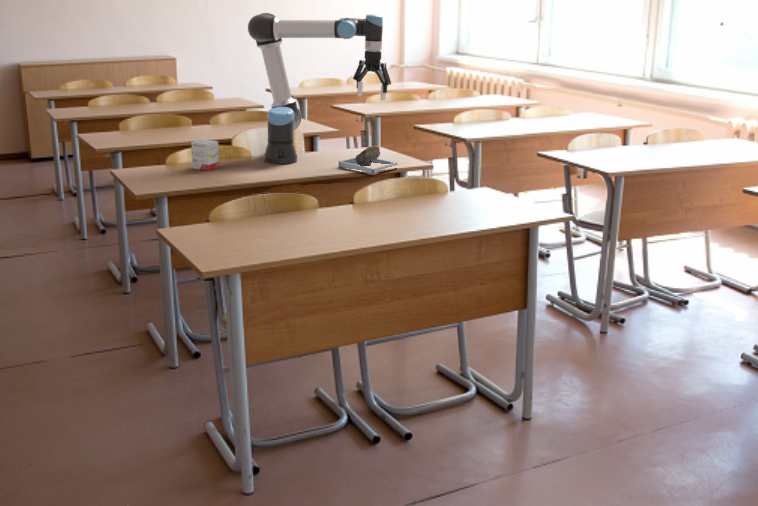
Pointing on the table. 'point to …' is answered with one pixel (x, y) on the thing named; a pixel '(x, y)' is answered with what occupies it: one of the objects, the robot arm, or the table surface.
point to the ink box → (205, 154)
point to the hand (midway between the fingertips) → (371, 98)
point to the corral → (353, 164)
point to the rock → (368, 156)
